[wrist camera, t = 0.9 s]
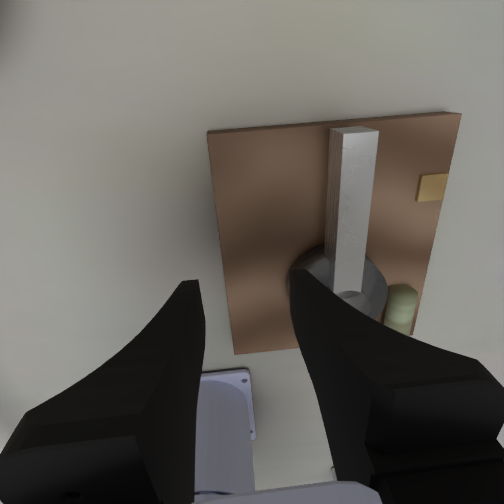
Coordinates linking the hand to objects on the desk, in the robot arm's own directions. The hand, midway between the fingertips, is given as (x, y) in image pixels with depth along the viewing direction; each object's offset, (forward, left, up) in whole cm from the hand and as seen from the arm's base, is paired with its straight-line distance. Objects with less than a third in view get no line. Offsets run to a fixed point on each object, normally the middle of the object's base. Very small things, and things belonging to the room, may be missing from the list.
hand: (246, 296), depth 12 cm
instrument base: (-3, -6, -9) cm, 11 cm away
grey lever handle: (-1, -6, -8) cm, 10 cm away
